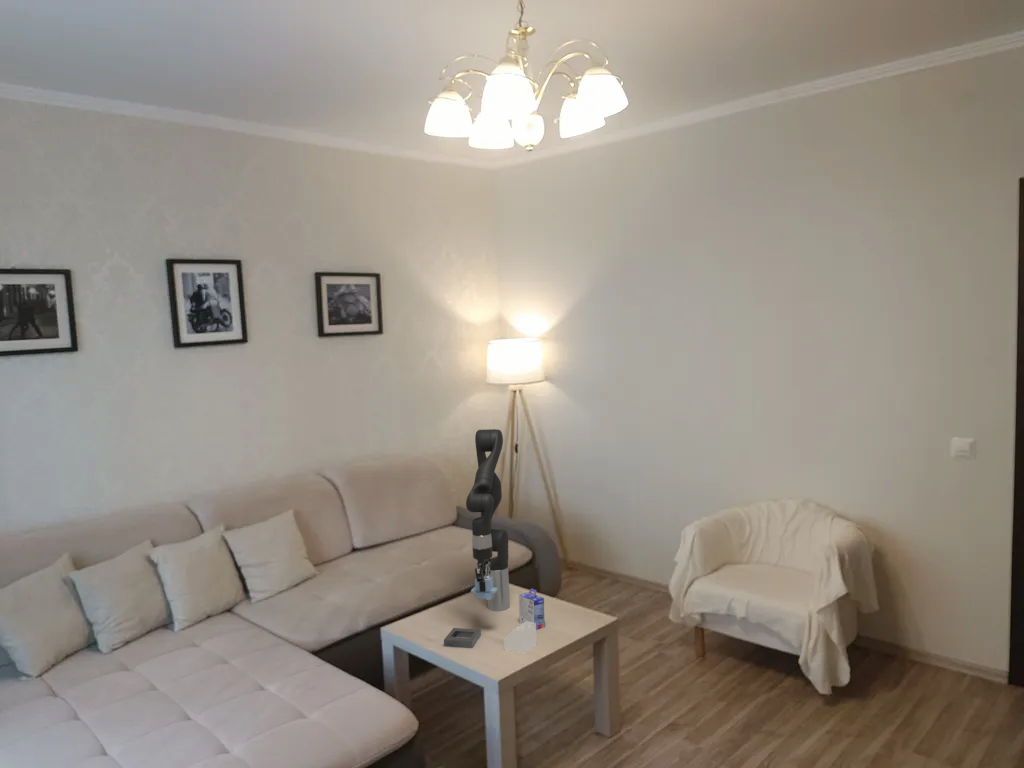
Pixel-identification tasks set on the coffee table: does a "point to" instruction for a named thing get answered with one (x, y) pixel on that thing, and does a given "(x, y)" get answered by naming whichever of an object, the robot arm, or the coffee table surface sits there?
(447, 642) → the tray
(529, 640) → the white sloped wedge
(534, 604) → the ink cartridge box
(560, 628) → the coffee table surface
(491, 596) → the servo
